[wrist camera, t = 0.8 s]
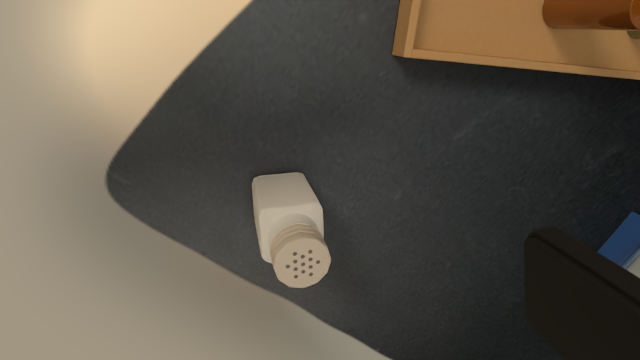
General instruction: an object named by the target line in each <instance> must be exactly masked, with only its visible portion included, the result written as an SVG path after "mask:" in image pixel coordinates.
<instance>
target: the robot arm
mask: <svg viewBox="0 0 640 360" xmlns="http://www.w3.org/2000/svg"><path fill="white" fill-rule="evenodd" d="M524 262H525V301H526V317H527V320H528V322H529V324H530V325H531V327H532V328H533V329H534V330H535V331H536V332H537V333H538V334H539V335H540V336H541V337H542V338H543V339H544V340H545V341H546V342H547V343H548V344H550V345H551V346H552V347H553V348H554V349H555V350H556V351H557V352H558V353H559V354H560V355H561V356H562V357H563V358H564V359H565V360H640V278H639V277H638V276H636V275H634V274H633V273H631V272H629V271H628V270H626V269H624V268H623V267H621V266H619V265H618V264H616V263H614V262H613V261H611V260H609V259H608V258H606V257H604V256H603V255H601V254H600V253H598V252H596V251H595V250H593V249H591V248H590V247H588V246H586V245H585V244H583V243H581V242H580V241H578V240H576V239H575V238H573V237H571V236H570V235H568V234H566V233H565V232H563V231H561V230H560V229H558V228H557V227H554V226H547V227H544V228H541V229H538V230H536V231H533V232H531V233H529V235H528V239H527V240H525V242H524Z"/></svg>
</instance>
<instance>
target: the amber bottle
mask: <svg viewBox="0 0 640 360" xmlns="http://www.w3.org/2000/svg"><path fill="white" fill-rule="evenodd" d="M542 14H543V19H544V21H545V23H546V24H547V25H548V26H549V27H550V28H553V29H573V30H622V31H640V0H544V3H543V8H542Z"/></svg>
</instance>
